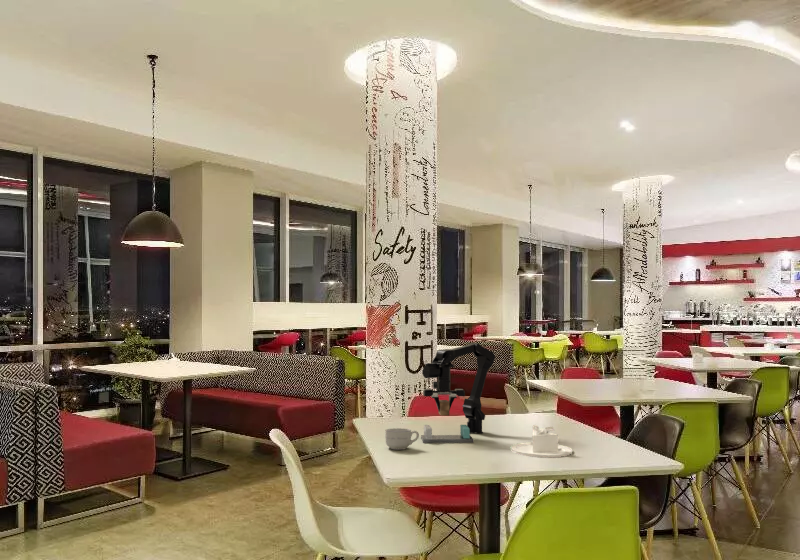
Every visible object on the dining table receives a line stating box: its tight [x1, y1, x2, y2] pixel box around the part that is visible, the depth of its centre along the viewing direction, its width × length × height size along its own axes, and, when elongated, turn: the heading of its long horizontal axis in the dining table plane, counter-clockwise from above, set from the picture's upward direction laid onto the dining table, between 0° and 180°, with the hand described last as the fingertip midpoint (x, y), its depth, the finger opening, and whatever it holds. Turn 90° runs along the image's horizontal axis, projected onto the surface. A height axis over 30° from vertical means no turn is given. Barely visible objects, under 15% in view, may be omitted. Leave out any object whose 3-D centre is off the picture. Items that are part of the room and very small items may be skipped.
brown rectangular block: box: [438, 399, 450, 417], centre depth 296 cm, size 4×8×6 cm, turn 3°
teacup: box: [385, 427, 420, 451], centre depth 266 cm, size 14×11×8 cm
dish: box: [509, 424, 573, 458], centre depth 264 cm, size 25×25×11 cm
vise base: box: [420, 424, 475, 444], centre depth 284 cm, size 22×10×6 cm, turn 93°
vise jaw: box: [459, 424, 471, 438], centre depth 285 cm, size 2×10×4 cm, turn 3°
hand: (443, 411), depth 296 cm, fingers closed on brown rectangular block, 4 cm apart
